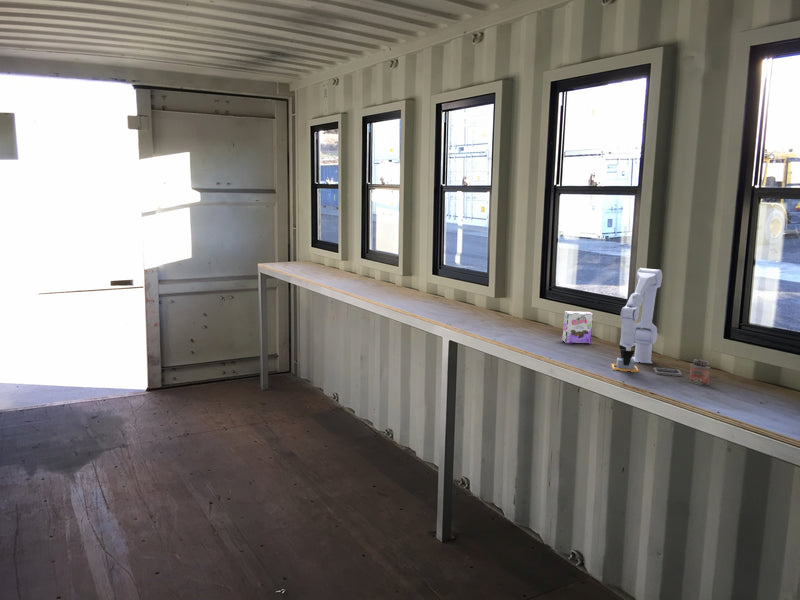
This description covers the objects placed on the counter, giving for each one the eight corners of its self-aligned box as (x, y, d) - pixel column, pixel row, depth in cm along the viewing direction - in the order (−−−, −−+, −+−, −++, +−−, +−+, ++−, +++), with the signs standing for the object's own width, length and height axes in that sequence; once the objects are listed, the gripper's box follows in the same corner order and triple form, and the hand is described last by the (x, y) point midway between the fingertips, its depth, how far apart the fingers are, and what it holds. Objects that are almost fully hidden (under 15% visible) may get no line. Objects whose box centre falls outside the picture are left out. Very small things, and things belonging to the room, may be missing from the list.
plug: (616, 367, 288) (617, 356, 288) (632, 369, 287) (633, 357, 286) (617, 370, 284) (618, 358, 283) (633, 371, 283) (634, 359, 282)
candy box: (565, 343, 335) (567, 312, 332) (561, 341, 340) (564, 310, 338) (591, 344, 335) (593, 313, 333) (587, 341, 341) (589, 311, 339)
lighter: (686, 381, 269) (689, 358, 267) (690, 380, 271) (693, 357, 269) (706, 386, 263) (708, 362, 261) (709, 384, 265) (712, 361, 263)
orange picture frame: (611, 365, 291) (611, 363, 290) (635, 368, 288) (636, 365, 288) (613, 370, 283) (613, 368, 283) (638, 372, 280) (638, 370, 280)
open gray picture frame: (653, 369, 287) (653, 367, 286) (678, 371, 284) (678, 369, 284) (656, 374, 279) (656, 371, 279) (682, 376, 276) (682, 374, 276)
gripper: (639, 337, 275) (636, 367, 277) (635, 331, 289) (632, 360, 291) (622, 335, 277) (619, 366, 279) (619, 329, 291) (616, 358, 293)
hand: (625, 363), depth 285 cm, fingers open, 7 cm apart
